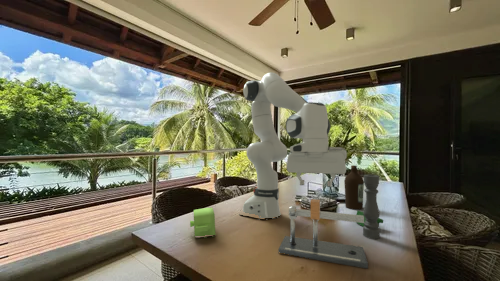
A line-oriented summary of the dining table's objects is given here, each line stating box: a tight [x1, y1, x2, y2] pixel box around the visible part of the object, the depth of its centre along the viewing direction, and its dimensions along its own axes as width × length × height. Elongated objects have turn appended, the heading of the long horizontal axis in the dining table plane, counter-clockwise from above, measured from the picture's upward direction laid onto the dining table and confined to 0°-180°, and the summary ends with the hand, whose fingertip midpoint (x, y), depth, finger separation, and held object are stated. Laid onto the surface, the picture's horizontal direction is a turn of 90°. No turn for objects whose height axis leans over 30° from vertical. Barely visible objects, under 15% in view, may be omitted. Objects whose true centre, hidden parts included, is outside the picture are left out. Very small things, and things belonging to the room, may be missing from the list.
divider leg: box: [310, 198, 321, 247], centre depth 82 cm, size 3×5×16 cm, turn 160°
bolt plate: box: [278, 235, 369, 270], centre depth 81 cm, size 28×12×2 cm, turn 70°
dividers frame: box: [288, 205, 364, 244], centre depth 82 cm, size 26×6×14 cm, turn 70°
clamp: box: [355, 210, 384, 227], centre depth 106 cm, size 12×6×9 cm, turn 3°
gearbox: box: [189, 207, 216, 237], centre depth 98 cm, size 18×10×10 cm, turn 14°
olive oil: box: [343, 165, 365, 211], centre depth 137 cm, size 11×11×25 cm
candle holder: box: [362, 174, 381, 240], centre depth 95 cm, size 6×6×25 cm
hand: (315, 185), depth 81 cm, fingers open, 8 cm apart
